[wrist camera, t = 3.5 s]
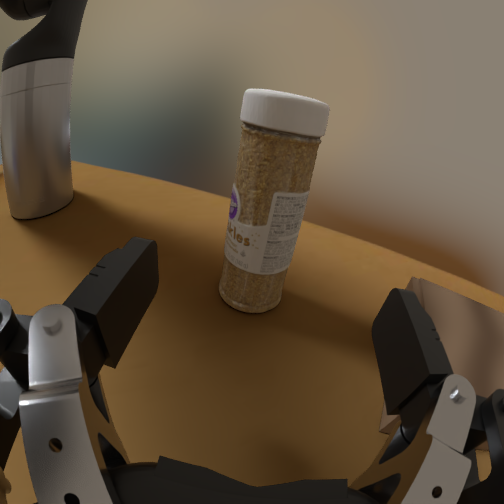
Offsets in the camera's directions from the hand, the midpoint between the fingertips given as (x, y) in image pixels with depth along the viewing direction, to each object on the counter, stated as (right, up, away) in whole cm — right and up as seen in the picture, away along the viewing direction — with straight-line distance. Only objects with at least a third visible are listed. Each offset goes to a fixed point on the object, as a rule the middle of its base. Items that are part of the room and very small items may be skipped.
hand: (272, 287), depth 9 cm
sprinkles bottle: (-1, -2, +11) cm, 11 cm away
